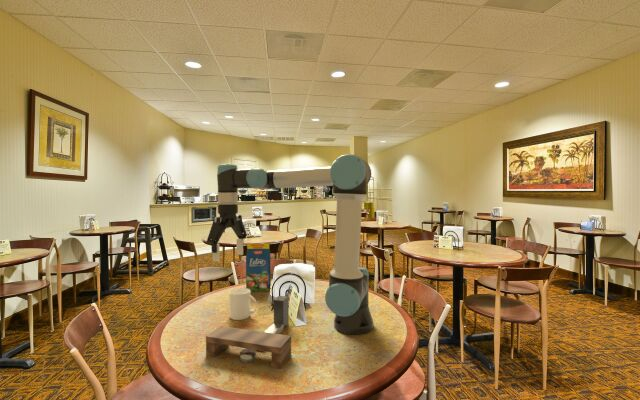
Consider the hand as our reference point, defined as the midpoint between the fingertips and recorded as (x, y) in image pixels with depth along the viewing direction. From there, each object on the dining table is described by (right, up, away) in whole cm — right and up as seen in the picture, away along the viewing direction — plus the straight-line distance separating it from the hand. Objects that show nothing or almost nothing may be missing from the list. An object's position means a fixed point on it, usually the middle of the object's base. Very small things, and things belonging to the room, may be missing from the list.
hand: (228, 257), depth 120 cm
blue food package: (+3, -26, +46) cm, 53 cm away
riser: (+13, -27, -23) cm, 38 cm away
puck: (+13, -27, -25) cm, 39 cm away
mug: (+4, -27, +9) cm, 28 cm away
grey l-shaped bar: (+19, -27, -8) cm, 34 cm away
